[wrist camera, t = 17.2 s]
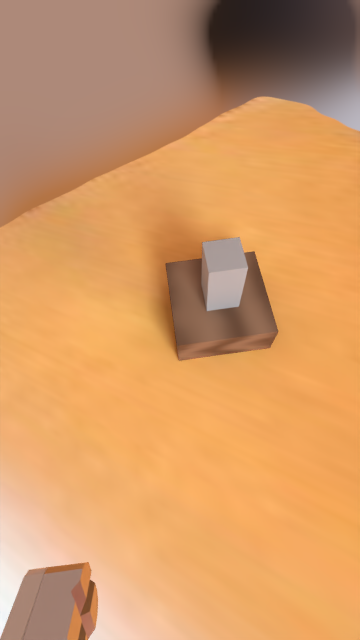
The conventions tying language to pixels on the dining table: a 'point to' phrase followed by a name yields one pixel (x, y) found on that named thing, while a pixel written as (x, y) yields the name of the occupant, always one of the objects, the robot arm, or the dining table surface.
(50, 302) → the dining table surface
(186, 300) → the walnut slab
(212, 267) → the slate block
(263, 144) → the dining table surface
